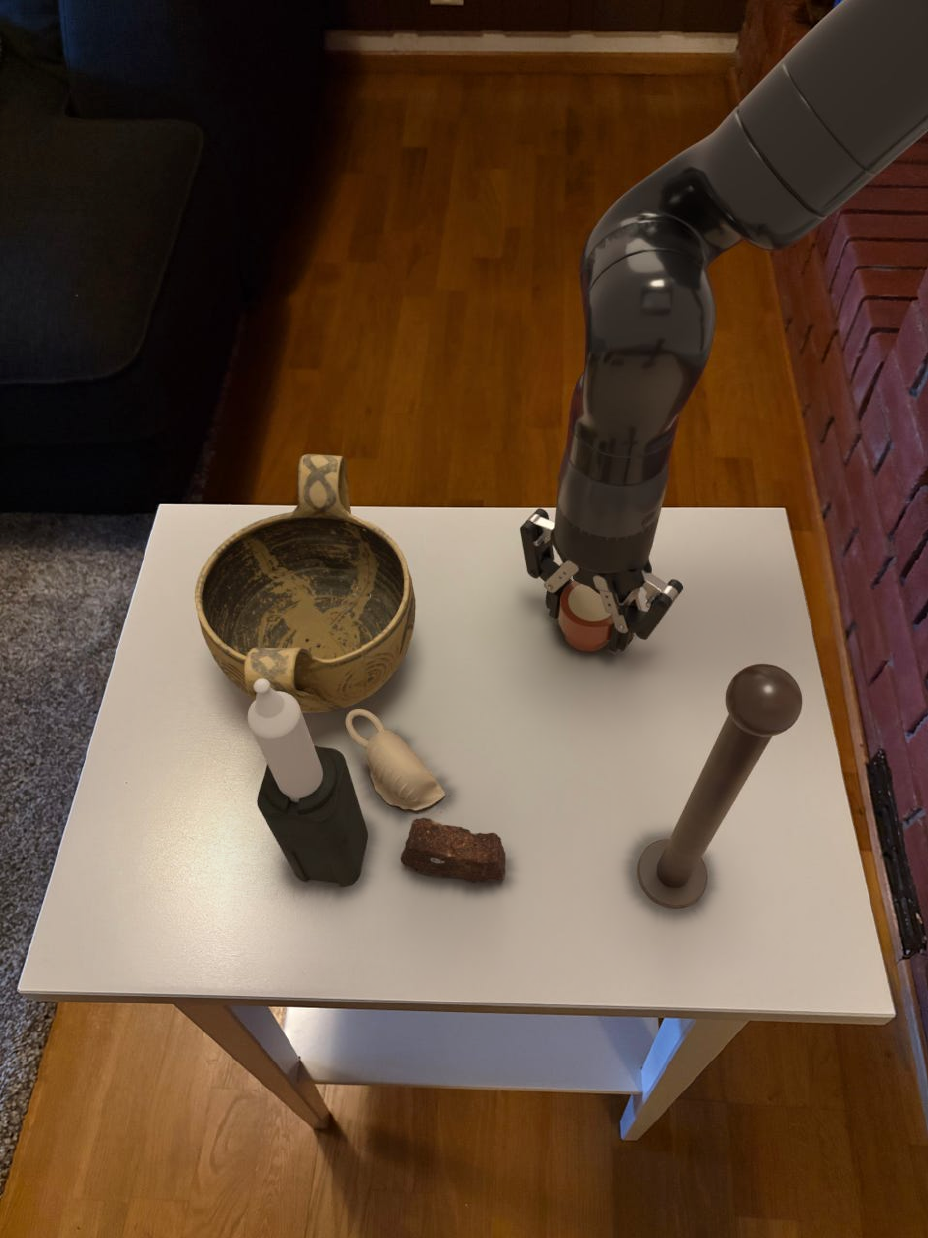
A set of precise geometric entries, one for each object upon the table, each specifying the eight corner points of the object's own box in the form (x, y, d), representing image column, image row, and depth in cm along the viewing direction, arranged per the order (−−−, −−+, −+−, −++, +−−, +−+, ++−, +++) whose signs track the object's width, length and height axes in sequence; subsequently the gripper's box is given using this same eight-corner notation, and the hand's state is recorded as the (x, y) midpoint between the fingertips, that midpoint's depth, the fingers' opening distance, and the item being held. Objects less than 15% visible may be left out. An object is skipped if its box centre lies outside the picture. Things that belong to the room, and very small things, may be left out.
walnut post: (717, 867, 64) (844, 671, 42) (685, 922, 62) (800, 747, 39) (658, 829, 66) (749, 621, 43) (624, 881, 64) (701, 691, 41)
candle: (290, 880, 65) (198, 719, 44) (306, 815, 67) (227, 636, 47) (357, 889, 64) (295, 730, 44) (370, 823, 67) (319, 646, 46)
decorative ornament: (404, 827, 67) (399, 799, 62) (345, 750, 71) (336, 718, 66) (447, 797, 68) (444, 768, 64) (387, 722, 72) (380, 690, 68)
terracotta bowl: (629, 626, 77) (636, 595, 73) (596, 668, 75) (602, 638, 71) (577, 597, 79) (582, 566, 75) (544, 637, 76) (547, 606, 73)
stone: (400, 872, 65) (395, 848, 61) (409, 833, 66) (404, 807, 62) (503, 889, 64) (504, 866, 60) (509, 850, 66) (510, 824, 61)
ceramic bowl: (405, 784, 69) (388, 688, 56) (195, 770, 70) (134, 673, 58) (433, 564, 81) (424, 446, 69) (255, 555, 83) (215, 437, 70)
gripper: (725, 507, 61) (680, 639, 75) (555, 424, 67) (543, 562, 80) (672, 575, 58) (636, 700, 72) (498, 482, 63) (495, 616, 77)
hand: (587, 627), depth 76 cm, fingers closed on terracotta bowl, 5 cm apart
